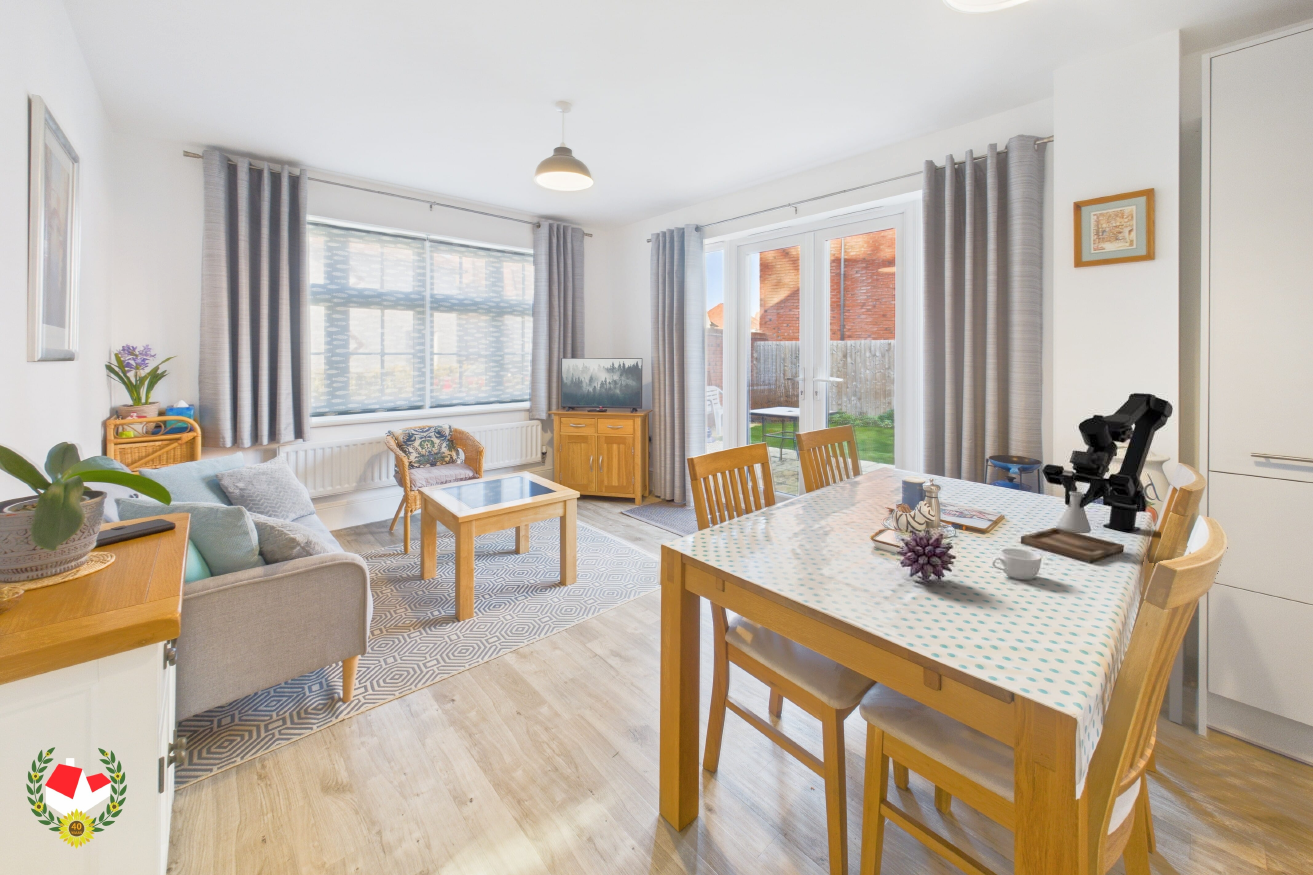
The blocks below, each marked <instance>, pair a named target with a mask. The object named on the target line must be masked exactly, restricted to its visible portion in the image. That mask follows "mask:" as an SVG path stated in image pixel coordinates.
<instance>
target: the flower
mask: <svg viewBox="0 0 1313 875" xmlns="http://www.w3.org/2000/svg"><path fill="white" fill-rule="evenodd" d="M910 532H911V533H909V534H907V535H908V536H909V538H904V537H901V538H900V539H899V540H900V541H901V542H902V543H903V544H904V545H900V546H899V549H900V550H896V554H898V555H901V556H903V558H902V560H900V561H899V563H900V565H901V567H902V568H906V567H907V568H910V571H909V572H910V573H909V574H908V576H909V577H910V578H913V576H915V575H917V574H921V576H922V577H923V582H929V580H930V578H931V576H932V575H933V576H935V577H936V578H937V579H938V580H940V581H941V580H942V578H943V579H944V578H945V577H946V575H945V573H944V571H948V572H950V573H952V572H953V569H952V568H951V567H950V566H949V565H952V566H953V565H954V563H955V562H954V561H953V560H956V559H957V556H956V555H954V554H952V553H950V550H952V549H953V548H954V546H953V544H952V542H951V541H948V542H943V536H944V533H943V532H939V533H938V534H935V535H933V536H932V534H931V532H930V529H929V528H924V527H923V528H922V529H921V532H920V533H917V532H915V530H914V529H911V530H910Z"/></svg>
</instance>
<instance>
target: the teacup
mask: <svg viewBox="0 0 1313 875" xmlns="http://www.w3.org/2000/svg"><path fill="white" fill-rule="evenodd" d="M996 561H999V565H1000V566H997V565H996ZM1041 564H1042V555H1041V554H1039V553H1038V552H1035V551H1033V550H1029V549H1023V548H1017V547H1007V548H1001V549H1000V553H999V556H998V557H994V558H993V560H992V562H991V565H992V567H994V568H995V569H997V570H999V571H1002V572H1003V573H1004V574H1005V575H1007V577H1009V578H1012V579H1014V580H1019V581H1029V580H1033V579H1035V577H1036V576H1037V575H1038V574H1039V572H1040V568H1041Z"/></svg>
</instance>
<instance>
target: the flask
mask: <svg viewBox="0 0 1313 875" xmlns="http://www.w3.org/2000/svg"><path fill="white" fill-rule="evenodd" d="M1069 494H1070V501H1069V504H1068V505H1067V506H1066V508H1065V511H1064V512H1063V514H1062V516H1061V518H1060V520H1059V521H1058V523H1057V524H1056V526H1055V528H1059V529H1061V530H1064V531H1068V532H1074V533H1078V534H1090V532H1091V531H1092V529H1091V528H1092V527H1091V525H1090V522H1089V520H1088V516H1087V514H1086V511H1085V507H1083V508H1080V503H1081V500H1082V499H1083V497H1084V495H1085V494H1086V492H1083V491H1078V490H1077V491H1070V492H1069Z"/></svg>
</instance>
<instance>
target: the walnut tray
mask: <svg viewBox="0 0 1313 875" xmlns="http://www.w3.org/2000/svg"><path fill="white" fill-rule="evenodd" d="M1020 544H1021V545H1025V546H1029V547H1032V548H1035V549H1038V550H1042V551H1045V552H1049V553H1052V554H1055V555H1059V556H1063V557H1066V558H1069V559H1073V560H1075V561H1076V560H1077V561H1080V562H1083V563H1086V564H1093V563H1096V562H1098V561H1099V562H1100V561H1101V560H1106V559H1108V558H1111V557H1110V556H1112V557H1114V556H1113V555H1115V556H1117V555H1116V554H1118V555H1120V554H1119V553H1121V554H1123V553H1124V550H1125V545H1124V544H1121V543H1117V542H1114V541H1109V540H1105V539H1103V538H1102V539H1101V538H1099V537H1093V536H1089V535H1086V534H1083V533H1074V532H1068V531H1064V530H1061V529H1059V528H1056V527H1052V528H1048V529H1044V530H1041V531H1036V532H1033V533H1032V532H1031V533H1029V534H1025V535H1021V536H1020ZM1122 552H1123V553H1122ZM1107 557H1108V558H1107Z"/></svg>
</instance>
